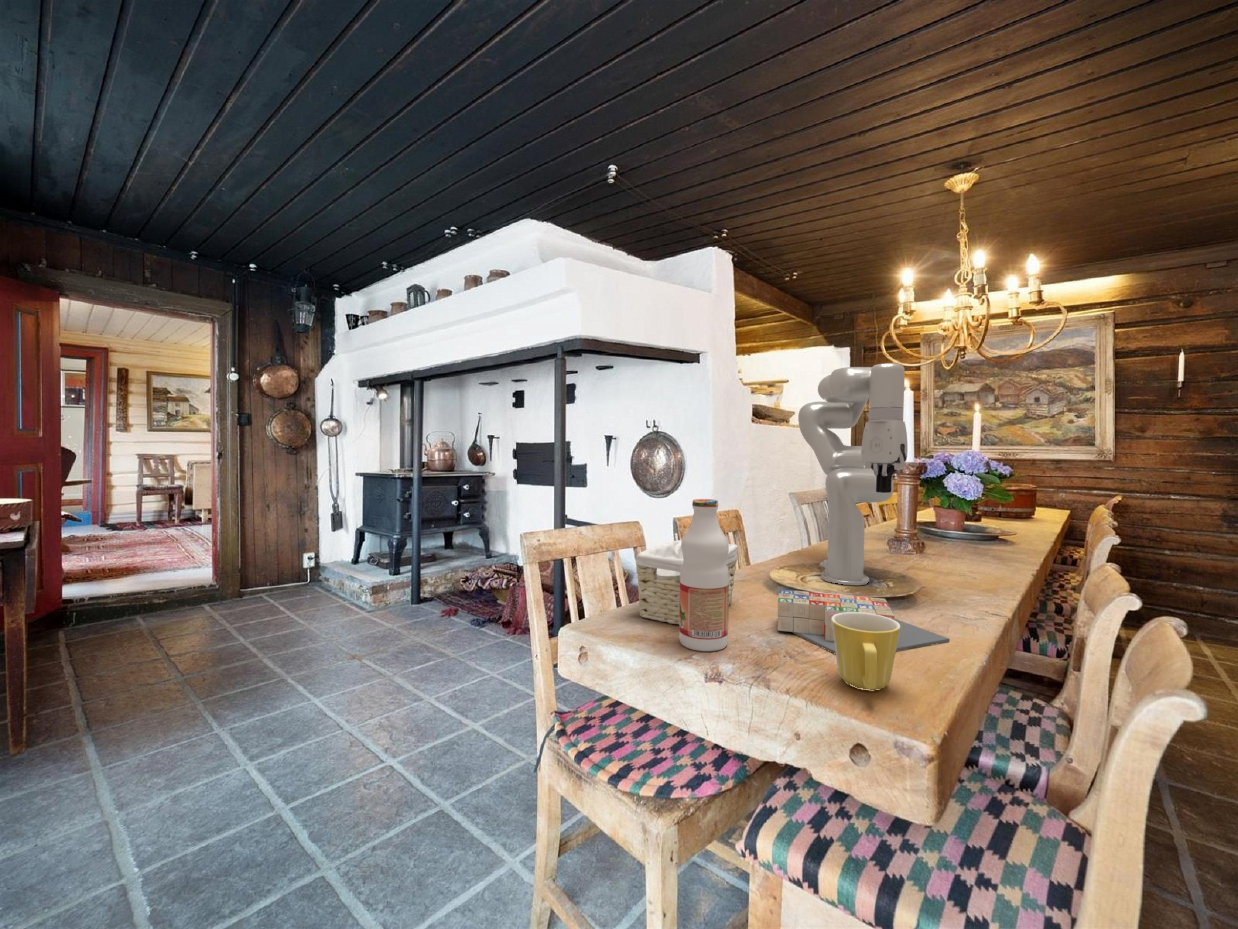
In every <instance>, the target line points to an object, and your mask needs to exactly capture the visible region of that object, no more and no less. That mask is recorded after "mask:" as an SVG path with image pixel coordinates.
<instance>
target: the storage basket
mask: <svg viewBox="0 0 1238 929" xmlns="http://www.w3.org/2000/svg"><path fill="white" fill-rule="evenodd" d="M681 542H682V539H679V540H674V541H670V542H666V543H664V544H661V545H657V546H654V547H652V548H647V549H645V550H643V551H641V552H639V553H638V554H637V555H636V561H635V562H636V563H635V564H636V573H637V584H638V587H637V591H638V600H639V601H638V603H639V604H638V605H639V607H638V608H639V611H638V613H639V615H640V617H643V618H644V619H650V620H654V621H658V622H664V623H665V622H666V623H668V624H673V625H674V624H675V625H679V617H680V570H681V566H682V563H683V555H682V551H681ZM728 544H729V551H728V555H727V558H726V565H727V567H728V571H729V605H731V604H732V601H733V600H732V599H733V590H734V585H735V577H736V576H735V574H736V565H737V560H738V557H739V556H738V555H739V554H738V545H737V544H734V543H728Z"/></svg>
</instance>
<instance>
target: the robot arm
mask: <svg viewBox="0 0 1238 929" xmlns="http://www.w3.org/2000/svg"><path fill="white" fill-rule="evenodd" d="M905 371H906V370H905V367H904V365H902V363H896V362H895V363H893V362H892V363H891V362H890V363H879V364H878V363H877V364H874V365H873V366H850V367H849V366H848V367H841V368H837V369H834V370H833V371H832V372H831V374H829V375H827V376H825V377H823V378H822V379H821V380H820V382H819V383H818V386H817V393H818V395H819V397H820V398H821V399H822V400H823V401H814V402H807V403H806V404H804V405H803V406H802V407H801V408H800V409H799V412H798V416H797V418H798V419H797V420H798V427H799V430H800V433H801V436H802V437H803V439H804V440H805V442H806V443H807V445H808V446H809V447H811V449H812V451H813V452H814V455H815V457H816V459H817V461H818V463H819V465H820V467H821V469H822V471H823V473H824V474H825V475H826V477H825V492H826V497H827V498H826V499H827V507H828V508H827V509H828V510H827V512H828V513H827V514H828V517H827V519H828V520H827V558H826V559H824V560H823V561H820V562H819V567H820V568H824V571H823V572H822V573H821V574H820V578H821V580H823V581H825V582H828V583H831V582H832V584H835V583H838V584H837V585H841V584H843V585H842V586H863V585H868V584H869V583H870V578H869V576H867V575H865V574H864V562H865V561H864V560H865V525H866V524H865V523H866V520H865V516H864V514H863V512H862V511H861V510H860V508H859V507H858V506H857V504H858V503H884V502H887V501H888V500H890V499H891V498H892V496H893V493H894V489H895V488H894V482H893V476H895V473H896V472H897V471H898V470H902V469H905V468H906V465H905V462H907V458H908V434H907V433H908V432H907V426H906V422H905V421H904V406H905V404H904V402H905V378H906V377H905V374H906V373H905ZM867 403H868V412H867V413H866V416H867V417H868V421H866V422H865V424H864V425H865V426H864V429H863V432H862V433H863V434H862V439H861V445H845V444H844V443H843V442H842V439H841V438H840V437H839V436H838V435H837V434H836V433H835V432H833V431H832V429H834V430H836V429H837V430H838V429H839V430H841V429H843V430H846V429H847V430H848V429H851V428H853V427H855V426H856V425H857V423H858V422H859V419H860V417H861V416H862V414H863V411H864V409H865V407H866V405H867ZM830 429H831V430H830ZM868 582H869V583H868ZM867 583H868V584H867Z"/></svg>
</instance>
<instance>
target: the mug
mask: <svg viewBox="0 0 1238 929" xmlns="http://www.w3.org/2000/svg"><path fill="white" fill-rule="evenodd" d="M831 622H832V631H833V638H834V645H835V652H836V655H835V657H836V665H837V666H836V668H837V672H838V674H839V676H840V677H841V679H842V680H843V681H844V682H845V683H846V682H847V683H848V684H851V685H853V686H855V687H857V688H863V689H870V690H876V689H881V688H883V689H884V688H885V687H886V686H888V685H889V683H890V682H891V680H892V675H893V674H892V673H893V668H894V663H895V657H896V653H897V651H896V649H897V644H898V639H899V633H900V624H899V623H898V622H896V621H895V620H892V619H890V618H887V617H884V616H880V615H876V614H870V613H862V612H844V613H838V614H835V615H834V616H832V618H831ZM847 683H846V684H847ZM848 684H847V685H848ZM881 690H882V689H881Z"/></svg>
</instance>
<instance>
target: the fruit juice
mask: <svg viewBox="0 0 1238 929" xmlns="http://www.w3.org/2000/svg"><path fill="white" fill-rule="evenodd" d="M691 505H692V509H693V515H692V518H691V522H690V525H689V527H688V530H687V531H686V532H685V534H684V535H683V537H682V539H681V540H682V542H681V551H682V555H683V563H682V566H681V570H680V617H679V624H678V625H679V627H678V628H679V630H678V631H679V633H678V638H679V643H680V644H681V645H682V646H683V647H684V648H687V649H690V650H693V651H696V652H716V651H721V650H723V649H725V648H726V647H727V645H728V642H729V605H730V604H729V571H728V567H727V565H726V558H727V555H728V551H729V544H730V543H729V541H728V538H727V536H726V535H725V533H724V532H723V530H722V527H721V526H720V522H719V518H718V515H717V514H718V513H717V510H718V509H719V500H717V499H713V498H696V499H693V500H692V504H691Z"/></svg>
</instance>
